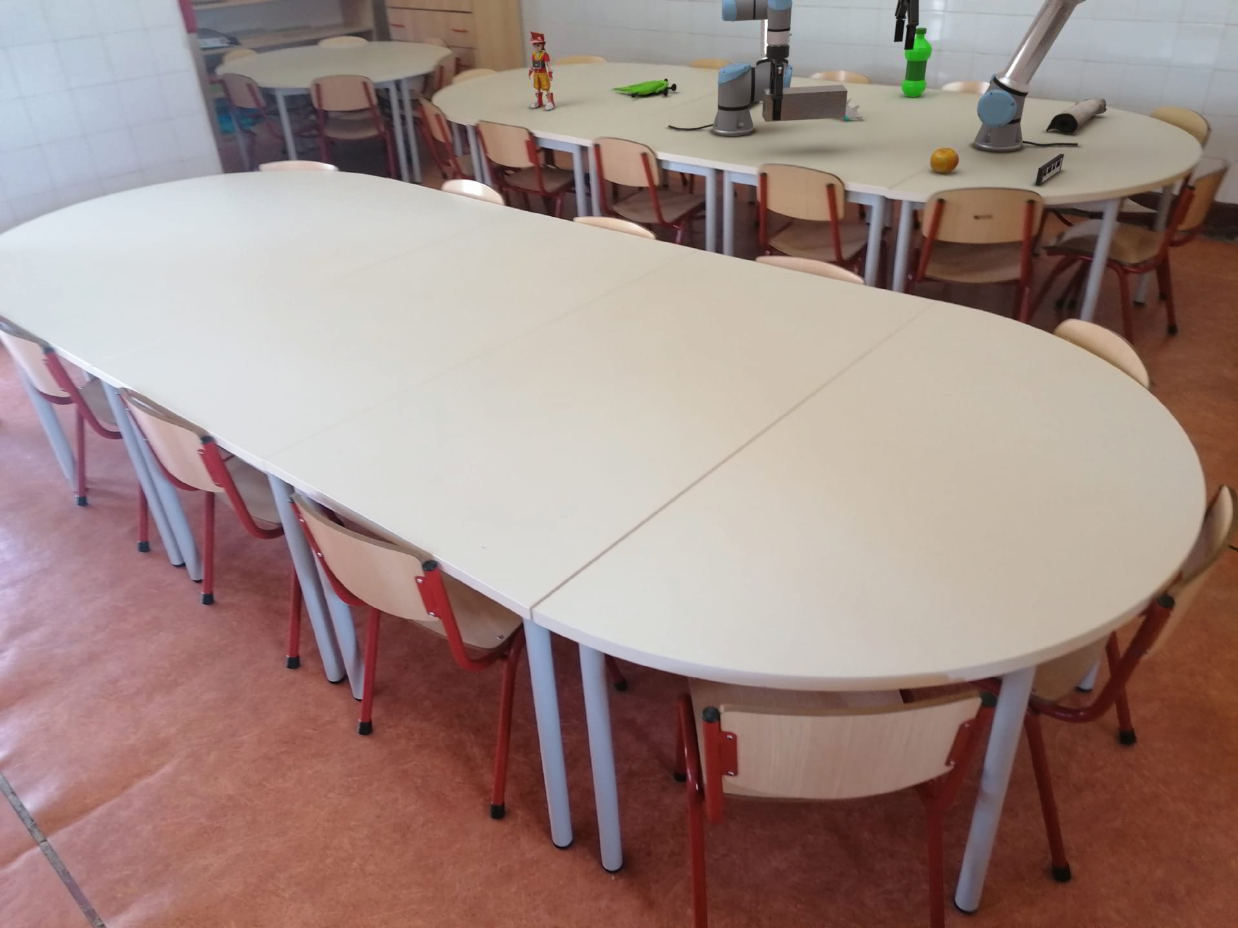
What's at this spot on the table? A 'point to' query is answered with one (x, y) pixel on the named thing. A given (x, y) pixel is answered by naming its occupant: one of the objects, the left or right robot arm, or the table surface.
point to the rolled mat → (1077, 115)
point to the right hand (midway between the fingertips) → (903, 46)
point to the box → (807, 103)
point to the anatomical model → (852, 112)
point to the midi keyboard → (1049, 169)
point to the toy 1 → (541, 71)
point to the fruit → (944, 160)
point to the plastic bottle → (916, 65)
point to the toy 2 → (648, 88)
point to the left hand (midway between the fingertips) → (774, 116)
